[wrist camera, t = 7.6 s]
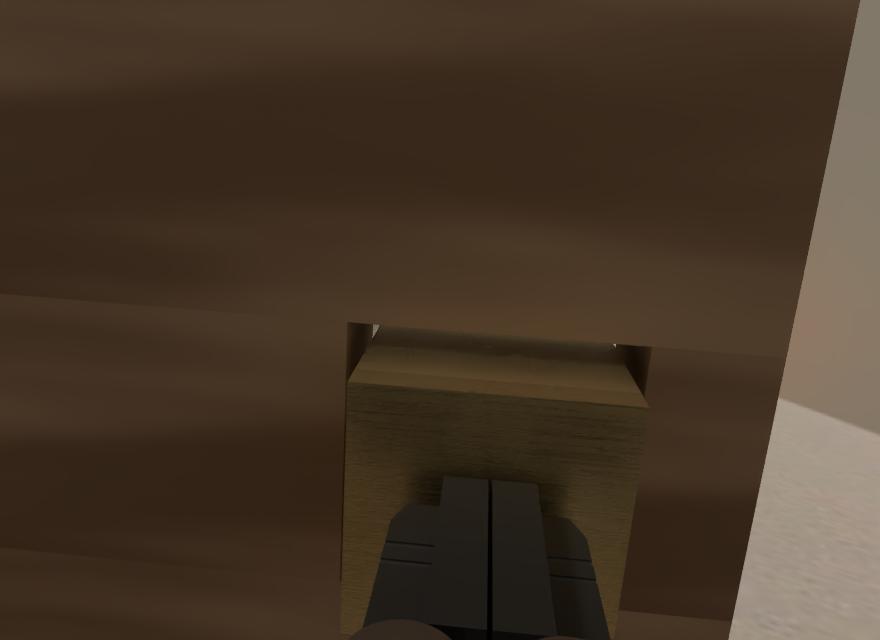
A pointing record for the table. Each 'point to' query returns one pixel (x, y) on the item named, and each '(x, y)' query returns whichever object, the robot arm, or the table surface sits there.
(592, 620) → the robot arm
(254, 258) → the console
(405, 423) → the yellow rectangular block
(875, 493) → the table surface
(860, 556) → the table surface
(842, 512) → the table surface
